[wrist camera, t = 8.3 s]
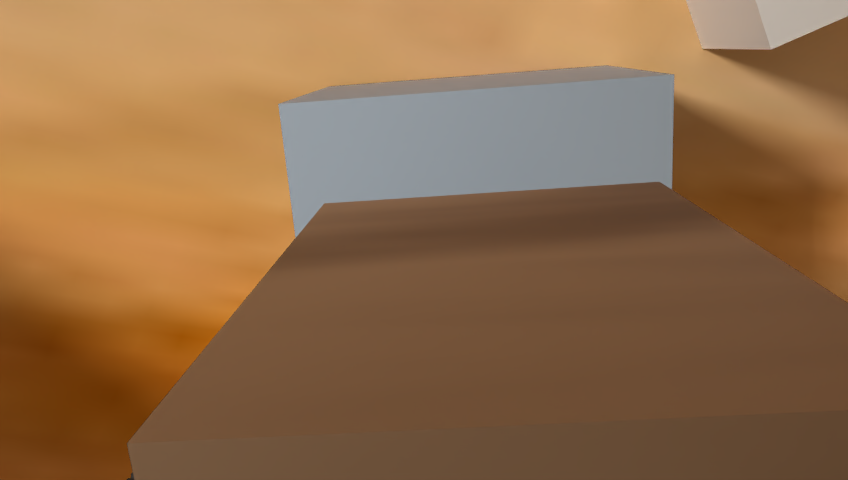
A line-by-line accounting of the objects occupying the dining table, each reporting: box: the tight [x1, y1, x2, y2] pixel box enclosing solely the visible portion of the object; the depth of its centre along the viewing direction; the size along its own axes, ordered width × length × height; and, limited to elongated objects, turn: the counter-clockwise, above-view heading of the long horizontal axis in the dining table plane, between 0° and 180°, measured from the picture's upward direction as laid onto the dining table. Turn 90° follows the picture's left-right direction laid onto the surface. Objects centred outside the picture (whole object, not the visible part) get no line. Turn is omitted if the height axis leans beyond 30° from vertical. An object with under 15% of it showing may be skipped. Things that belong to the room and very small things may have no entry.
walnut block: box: [127, 182, 848, 480], centre depth 9 cm, size 6×6×8 cm
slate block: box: [278, 66, 674, 237], centre depth 20 cm, size 9×9×7 cm
